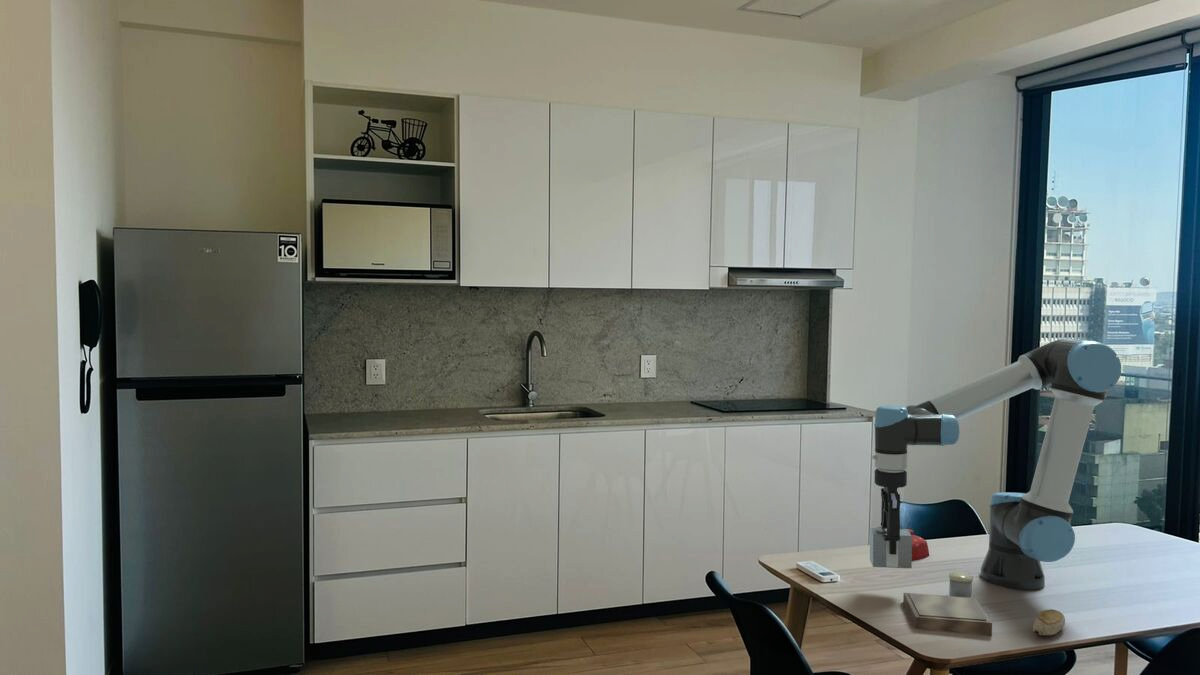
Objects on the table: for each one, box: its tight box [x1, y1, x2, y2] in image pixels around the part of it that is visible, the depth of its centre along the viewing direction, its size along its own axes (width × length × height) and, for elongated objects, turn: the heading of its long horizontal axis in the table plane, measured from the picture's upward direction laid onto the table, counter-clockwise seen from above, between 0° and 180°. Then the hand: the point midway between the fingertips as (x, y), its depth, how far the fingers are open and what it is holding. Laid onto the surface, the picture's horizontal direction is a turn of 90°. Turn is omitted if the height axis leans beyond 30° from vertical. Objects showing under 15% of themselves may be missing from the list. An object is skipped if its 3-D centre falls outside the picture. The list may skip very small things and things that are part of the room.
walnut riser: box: [902, 592, 993, 637], centre depth 202 cm, size 16×16×3 cm
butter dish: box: [908, 528, 930, 561], centre depth 248 cm, size 12×12×8 cm
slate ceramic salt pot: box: [948, 571, 974, 598], centre depth 213 cm, size 5×5×7 cm
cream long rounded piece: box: [1032, 608, 1066, 637], centre depth 195 cm, size 5×14×4 cm, turn 137°
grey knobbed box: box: [869, 526, 913, 569], centre depth 217 cm, size 9×6×9 cm, turn 80°
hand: (889, 562), depth 217 cm, fingers closed on grey knobbed box, 6 cm apart
